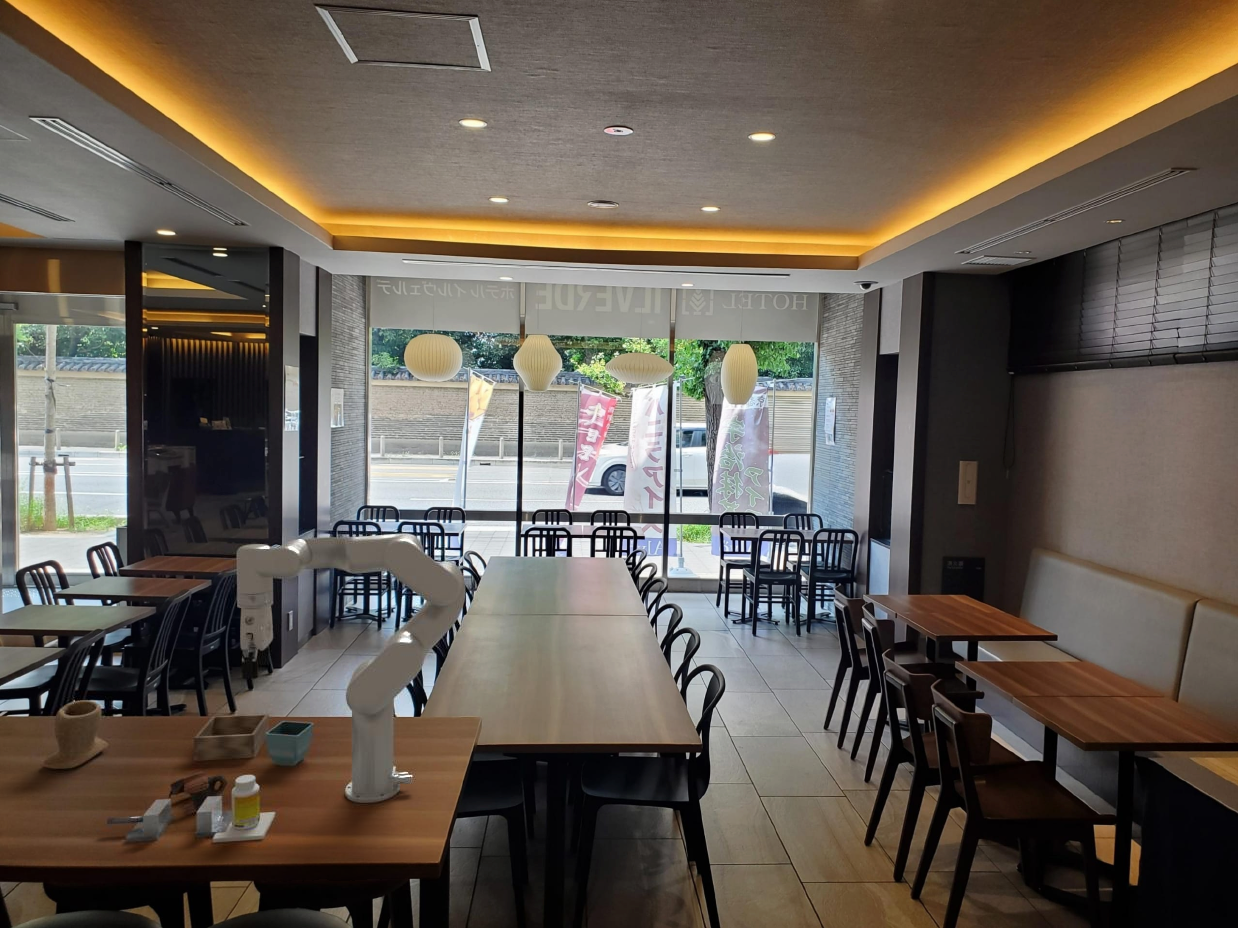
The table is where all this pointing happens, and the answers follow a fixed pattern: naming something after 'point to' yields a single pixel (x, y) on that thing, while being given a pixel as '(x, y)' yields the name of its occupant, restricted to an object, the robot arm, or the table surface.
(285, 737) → the flower pot
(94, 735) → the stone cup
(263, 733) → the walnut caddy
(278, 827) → the table surface
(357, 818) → the table surface
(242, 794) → the supplement bottle
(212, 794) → the pottery mug
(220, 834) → the white coaster
